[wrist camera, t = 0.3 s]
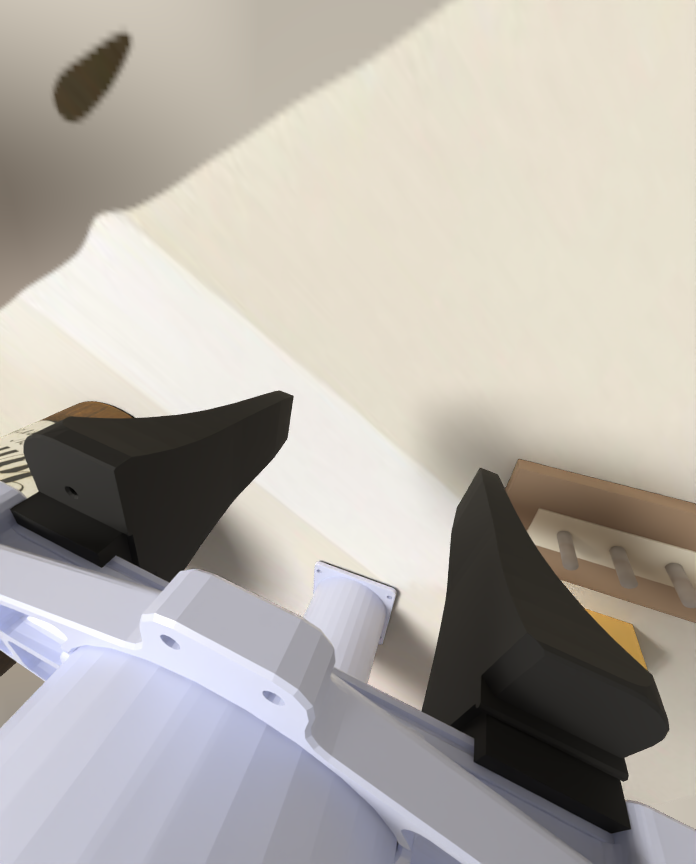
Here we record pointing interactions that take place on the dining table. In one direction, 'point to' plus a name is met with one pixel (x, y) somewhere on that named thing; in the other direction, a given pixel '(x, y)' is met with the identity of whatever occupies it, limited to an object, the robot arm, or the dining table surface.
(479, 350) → the dining table surface
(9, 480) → the wooden container
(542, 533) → the pin plate
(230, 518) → the dining table surface
